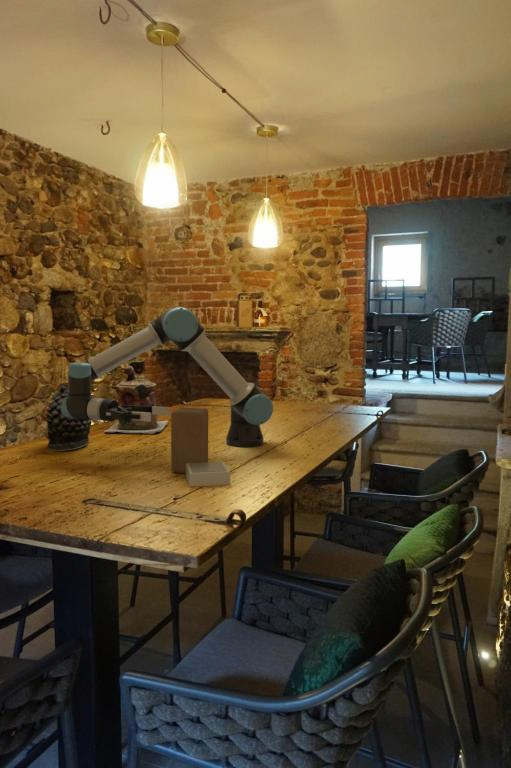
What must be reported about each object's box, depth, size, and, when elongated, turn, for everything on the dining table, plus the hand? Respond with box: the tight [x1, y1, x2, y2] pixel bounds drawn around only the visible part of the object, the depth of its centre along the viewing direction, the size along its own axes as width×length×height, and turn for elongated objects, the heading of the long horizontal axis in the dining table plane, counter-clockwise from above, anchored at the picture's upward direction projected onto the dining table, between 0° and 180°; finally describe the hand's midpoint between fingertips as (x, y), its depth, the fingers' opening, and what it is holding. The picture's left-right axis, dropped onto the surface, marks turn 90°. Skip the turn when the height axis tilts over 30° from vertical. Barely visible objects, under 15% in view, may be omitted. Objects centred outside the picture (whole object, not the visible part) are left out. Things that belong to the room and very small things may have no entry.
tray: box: [185, 461, 231, 487], centre depth 169 cm, size 12×12×4 cm
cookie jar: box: [103, 358, 169, 435], centre depth 249 cm, size 25×25×32 cm
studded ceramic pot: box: [44, 383, 93, 452], centre depth 211 cm, size 21×15×25 cm
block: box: [170, 407, 209, 474], centre depth 180 cm, size 10×10×20 cm
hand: (160, 414), depth 182 cm, fingers open, 13 cm apart
